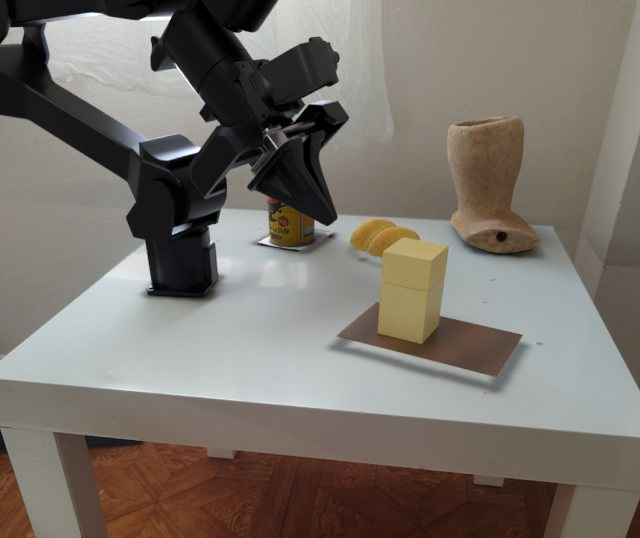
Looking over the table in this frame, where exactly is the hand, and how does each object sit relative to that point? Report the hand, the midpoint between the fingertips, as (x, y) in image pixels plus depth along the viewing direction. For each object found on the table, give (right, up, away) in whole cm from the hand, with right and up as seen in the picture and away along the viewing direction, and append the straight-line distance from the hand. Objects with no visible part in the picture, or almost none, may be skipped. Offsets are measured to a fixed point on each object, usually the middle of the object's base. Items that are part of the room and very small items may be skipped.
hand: (332, 222), depth 56 cm
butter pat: (+7, -5, -1) cm, 9 cm away
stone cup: (+21, +7, +28) cm, 36 cm away
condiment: (-4, +7, +27) cm, 28 cm away
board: (+9, -11, +2) cm, 14 cm away
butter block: (+7, -10, +2) cm, 12 cm away
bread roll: (+7, +3, +23) cm, 24 cm away
